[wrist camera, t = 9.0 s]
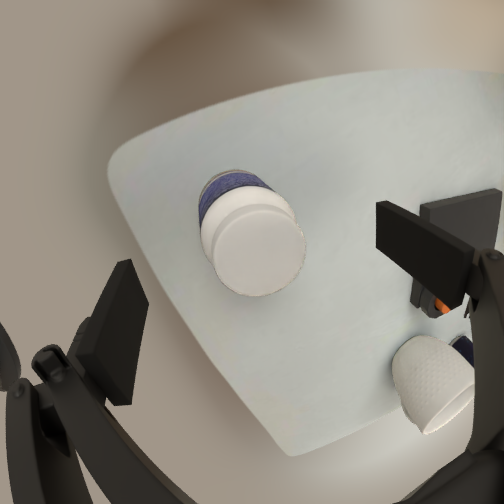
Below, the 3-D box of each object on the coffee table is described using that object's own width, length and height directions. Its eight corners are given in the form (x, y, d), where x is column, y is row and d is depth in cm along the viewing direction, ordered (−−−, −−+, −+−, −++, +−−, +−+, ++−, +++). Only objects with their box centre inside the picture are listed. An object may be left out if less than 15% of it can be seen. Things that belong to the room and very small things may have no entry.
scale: (408, 309, 32) (423, 325, 29) (420, 204, 26) (441, 214, 23) (480, 274, 34) (494, 284, 31) (494, 188, 28) (511, 195, 25)
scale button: (432, 310, 29) (439, 316, 28) (436, 291, 28) (444, 298, 26) (446, 302, 29) (454, 309, 28) (451, 284, 28) (459, 291, 27)
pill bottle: (184, 215, 22) (179, 275, 13) (224, 154, 21) (247, 173, 12) (243, 248, 24) (272, 320, 15) (282, 193, 23) (338, 238, 14)
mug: (414, 378, 42) (450, 427, 30) (366, 397, 40) (400, 456, 28) (443, 315, 35) (494, 367, 24) (391, 333, 33) (445, 400, 22)
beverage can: (452, 355, 42) (485, 393, 32) (438, 357, 41) (474, 399, 30) (467, 332, 40) (503, 369, 30) (455, 333, 39) (494, 374, 28)
